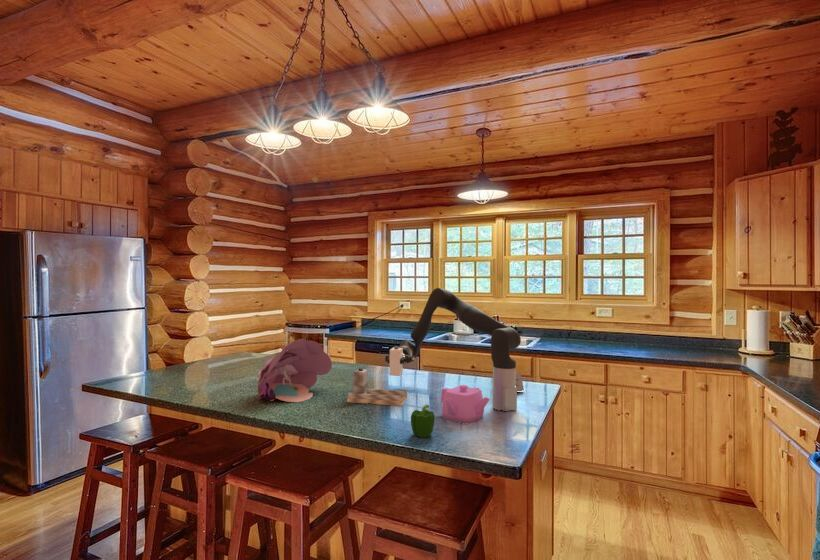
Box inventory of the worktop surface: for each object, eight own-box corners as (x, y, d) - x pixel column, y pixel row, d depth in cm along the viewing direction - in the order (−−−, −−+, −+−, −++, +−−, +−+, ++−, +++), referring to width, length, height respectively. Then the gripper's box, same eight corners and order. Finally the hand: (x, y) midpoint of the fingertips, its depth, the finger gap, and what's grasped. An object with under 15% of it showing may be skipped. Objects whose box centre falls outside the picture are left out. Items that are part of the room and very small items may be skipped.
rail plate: (407, 398, 192) (407, 367, 192) (402, 405, 180) (402, 373, 180) (355, 394, 196) (356, 365, 197) (347, 402, 185) (347, 370, 185)
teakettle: (478, 410, 176) (478, 380, 176) (490, 424, 159) (491, 390, 159) (437, 411, 174) (437, 380, 174) (445, 425, 157) (446, 391, 157)
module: (402, 372, 190) (402, 345, 190) (399, 376, 184) (400, 347, 184) (392, 372, 190) (392, 345, 190) (389, 375, 185) (389, 347, 185)
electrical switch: (508, 394, 201) (507, 374, 202) (501, 392, 205) (500, 373, 206) (524, 392, 205) (523, 372, 206) (517, 391, 209) (516, 371, 210)
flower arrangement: (287, 420, 174) (296, 355, 170) (239, 404, 181) (247, 340, 176) (328, 391, 208) (337, 335, 203) (286, 378, 214) (294, 323, 210)
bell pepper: (414, 440, 141) (414, 410, 141) (407, 432, 149) (408, 403, 149) (438, 438, 143) (438, 408, 143) (430, 430, 151) (431, 401, 151)
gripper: (388, 346, 202) (378, 352, 186) (418, 347, 200) (411, 353, 183) (387, 361, 202) (378, 369, 186) (417, 363, 200) (411, 371, 183)
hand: (394, 361), depth 184 cm, fingers closed on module, 4 cm apart
